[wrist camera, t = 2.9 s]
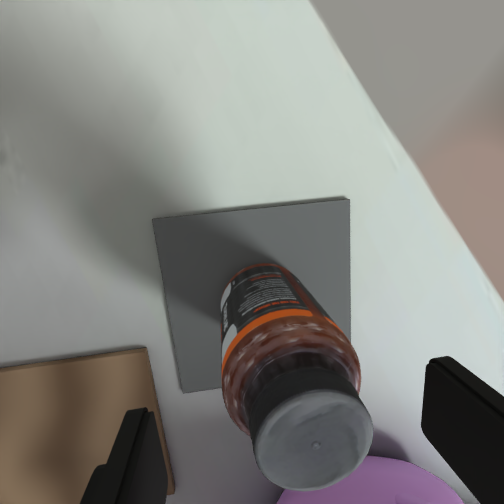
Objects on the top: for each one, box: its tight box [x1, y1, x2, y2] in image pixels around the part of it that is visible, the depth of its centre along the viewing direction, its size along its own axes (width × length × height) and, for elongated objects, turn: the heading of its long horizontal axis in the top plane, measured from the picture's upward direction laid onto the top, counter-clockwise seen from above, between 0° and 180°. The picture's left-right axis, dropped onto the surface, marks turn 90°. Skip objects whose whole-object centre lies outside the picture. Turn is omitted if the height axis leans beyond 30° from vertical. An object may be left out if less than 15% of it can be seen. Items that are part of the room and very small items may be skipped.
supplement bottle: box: [220, 263, 373, 492], centre depth 14 cm, size 6×6×11 cm
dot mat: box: [152, 199, 351, 394], centre depth 20 cm, size 13×13×1 cm
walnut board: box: [0, 348, 175, 504], centre depth 21 cm, size 13×13×1 cm
